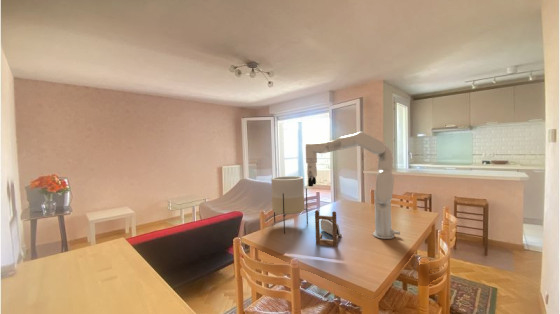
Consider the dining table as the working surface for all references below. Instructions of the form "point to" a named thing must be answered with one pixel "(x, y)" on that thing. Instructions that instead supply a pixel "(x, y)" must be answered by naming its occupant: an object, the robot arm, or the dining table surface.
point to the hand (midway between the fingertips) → (312, 185)
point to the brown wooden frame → (319, 235)
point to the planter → (288, 196)
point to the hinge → (329, 227)
